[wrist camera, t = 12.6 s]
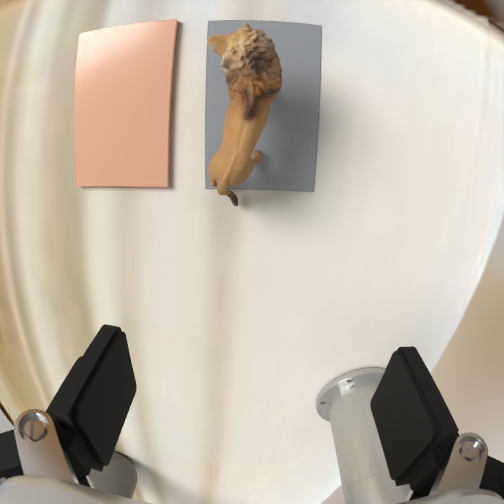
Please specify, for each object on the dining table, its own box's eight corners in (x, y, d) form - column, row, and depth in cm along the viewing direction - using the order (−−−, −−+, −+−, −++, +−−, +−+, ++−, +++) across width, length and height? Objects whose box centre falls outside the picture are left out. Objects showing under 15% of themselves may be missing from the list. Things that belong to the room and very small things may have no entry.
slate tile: (318, 28, 23) (321, 25, 22) (311, 188, 29) (313, 191, 28) (209, 24, 23) (208, 20, 22) (207, 185, 29) (205, 188, 28)
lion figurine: (221, 45, 23) (202, 15, 15) (282, 49, 23) (290, 20, 15) (209, 201, 29) (187, 237, 21) (266, 206, 29) (267, 245, 21)
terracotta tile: (179, 22, 22) (176, 19, 21) (170, 184, 29) (167, 187, 28) (85, 35, 22) (79, 33, 21) (82, 183, 29) (76, 186, 27)
